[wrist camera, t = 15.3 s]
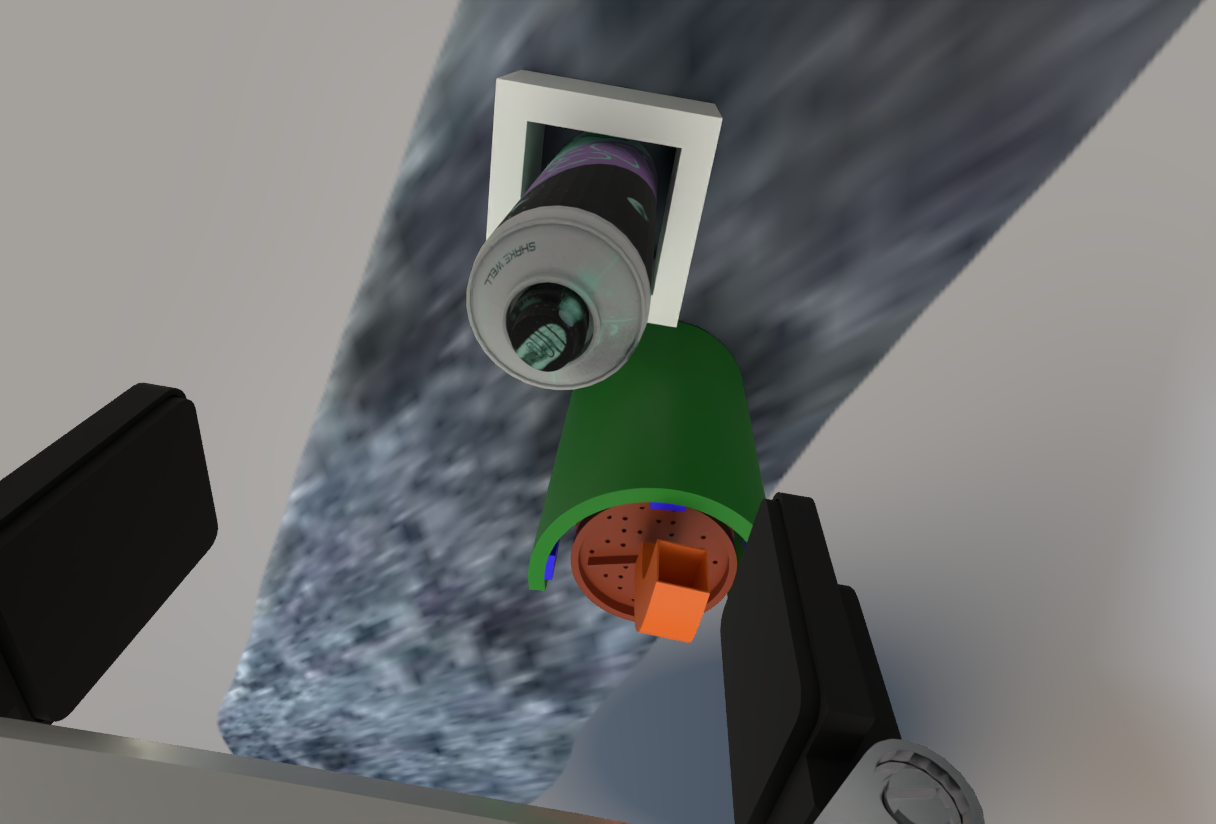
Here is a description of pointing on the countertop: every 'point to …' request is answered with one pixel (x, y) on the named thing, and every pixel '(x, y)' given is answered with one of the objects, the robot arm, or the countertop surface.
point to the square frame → (616, 113)
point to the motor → (655, 484)
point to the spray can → (570, 267)
